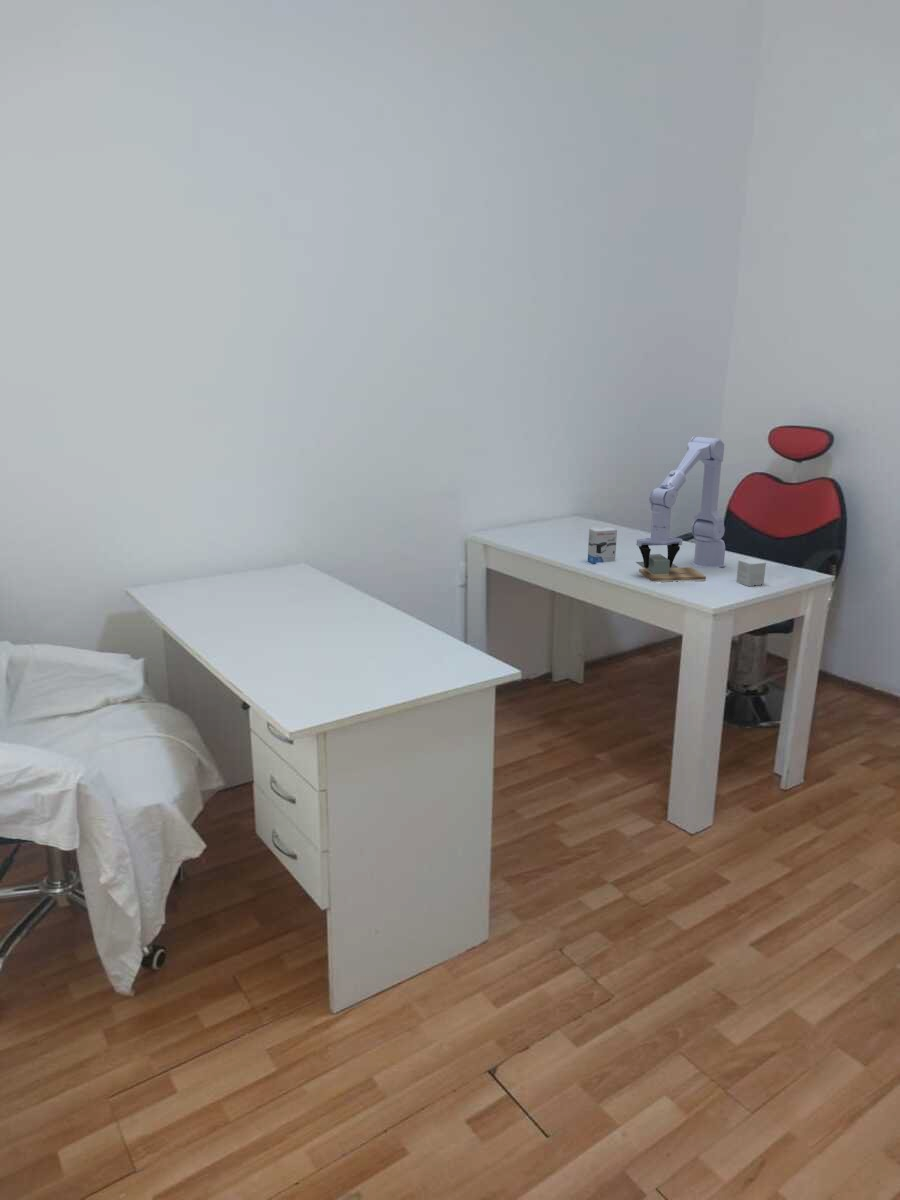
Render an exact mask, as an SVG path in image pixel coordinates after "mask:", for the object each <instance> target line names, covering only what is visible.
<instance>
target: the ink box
mask: <svg viewBox="0 0 900 1200" xmlns="http://www.w3.org/2000/svg"><path fill="white" fill-rule="evenodd" d="M617 534H618V530H617V529H615V528H613V527H612V526H602V527H601V526H600V527H591V528H589V529H588V549H587V562H589V563H591V564H592V565H597V563H610V562H616V556H617V555H616V554H617V553H616V551H617V537H618V536H617Z"/></svg>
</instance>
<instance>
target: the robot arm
mask: <svg viewBox="0 0 900 1200" xmlns="http://www.w3.org/2000/svg"><path fill="white" fill-rule="evenodd" d="M724 451H725V443H724V441H722V438H721V439H720V438H719V437H715V438H714V437H705V436H704V437H703V436H697V435H694V436H692V437H691V438H690V440H689V441H688V443H687V446H686V452H685V455H684V456H683V458H682V460H681V462H680V463H679V465H678V467H676V469H673V470H671V471H670V472H669V473H668V474H667V475H666V477H665V478H664V480H663V481H662V482H661V484H660V485H659V487H656V488H654V489H652V491H650V494H649V497H648V498H649V499H648V500H649V503H650V509H651V511H652V512H651V527H650V528H651V529H650V530H651V531H650V537H648V538H637V539H636V543H635V544H636V546H637V547H638V549H639V550H640V553H641V556H642V559H643V561H642V562H644V567H645V568H648V567H649V555H650V554H651V551H652V549H651V548H650V546H667V547H666V548H667V557H666V558H667V559H668V560H670V567H669V568H671V566H672V563H673V562H674V560H675V558H676V556H677V554H678V553H679V551H680V548H681V547H680V546H682V545H683V539H682V538H681V537H670V529H671V515H672V508H673V506H674V505H675V504H676V502H677V497H678V494H679V493H678V492H679V491H680V490H681V488H682V487H683V486H684V485H685V483H686V481H687V478H686V476H687V474H688V473H690V471H691V470H692V469H693V468H694V467H695V465H696V464H697V463H698V462H699V461H701V463H702V464H703V465H704V468H703V480H702V488H701V489H702V490H701V491H702V492H701V500H700V501H701V503H700V511H698V512H697V513H696V514H694V515H693V521H692V524H691V527H690V531H691V534H692V535H693V539H695V547H694V557H693V558H694V559H693V560H689V562H690V563H691V564H692V565H694V566H696V567H697V568H701V567H702V568H703V567H705V568H707V567H718V568H725V557H726V556H725V554H726V544H725V541H724V540H723V539H722V538H724V535H725V532H726V528H725V523H724V522H725V520H724V519H725V517H723V516H722V515H721V514H720V513H719V512H718V505H719V504H718V503H719V494H720V493H719V492H720V482H721V481H720V479H721V471H722V462H723V461H724ZM673 564H674V563H673Z"/></svg>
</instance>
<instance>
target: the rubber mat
mask: <svg viewBox="0 0 900 1200" xmlns="http://www.w3.org/2000/svg"><path fill="white" fill-rule="evenodd" d="M635 563H636V564H637V565H639V566H640V567H641V568H642V569H644V568H645V567H644V561H635ZM671 568H680V567H678V565H675V564H674V563H672V566H671Z"/></svg>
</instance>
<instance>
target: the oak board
mask: <svg viewBox="0 0 900 1200" xmlns="http://www.w3.org/2000/svg"><path fill="white" fill-rule="evenodd" d="M638 572H639V573H640V574H641V575H643V576H644V577H645V578H647V579H648V580H649V581H650V582H667V583H674V582H673V581H676V582H675V583H679V582H678V581H700V582H706V581H707V580H706V579H707V576H706V575H704V574H702V573H701V572H700V571H698V570H697V569H695V568H694V567H691V566H687V567H679V568H669V576H653V575H651V574H650V573H649V572H647V571H646V570H645V569H644V568H638Z"/></svg>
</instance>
